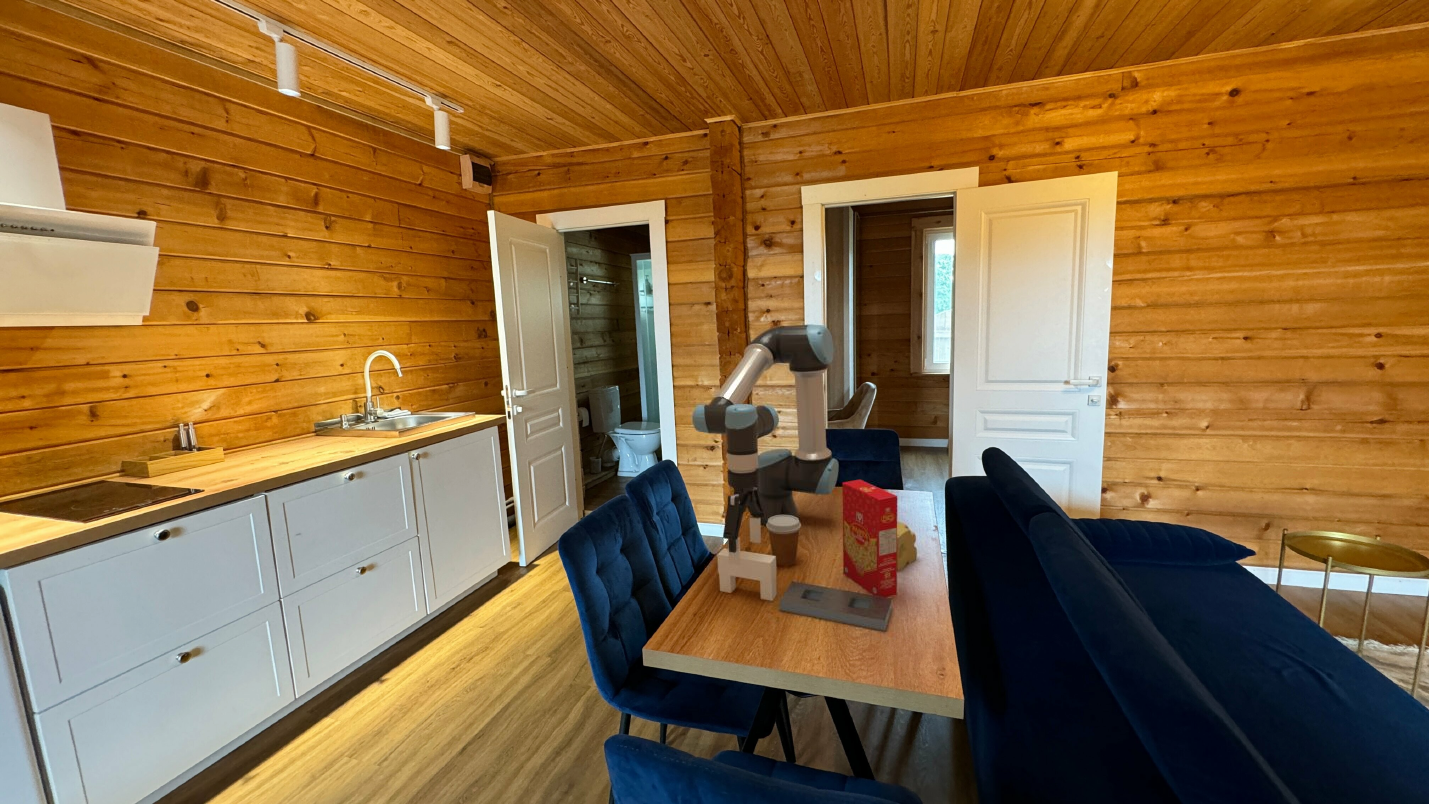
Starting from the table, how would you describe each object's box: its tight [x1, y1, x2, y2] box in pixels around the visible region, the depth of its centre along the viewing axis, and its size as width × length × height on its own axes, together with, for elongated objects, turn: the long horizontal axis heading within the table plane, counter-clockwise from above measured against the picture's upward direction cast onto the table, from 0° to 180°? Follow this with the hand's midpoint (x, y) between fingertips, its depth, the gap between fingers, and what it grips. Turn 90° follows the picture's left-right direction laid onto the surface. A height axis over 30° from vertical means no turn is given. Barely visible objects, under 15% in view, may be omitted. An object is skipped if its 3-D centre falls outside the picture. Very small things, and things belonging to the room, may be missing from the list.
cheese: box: [897, 520, 918, 572], centre depth 152 cm, size 10×11×10 cm
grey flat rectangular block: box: [778, 580, 893, 632], centre depth 129 cm, size 24×10×2 cm, turn 65°
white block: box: [716, 548, 777, 602], centre depth 138 cm, size 14×4×10 cm, turn 65°
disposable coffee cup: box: [765, 515, 802, 567], centre depth 154 cm, size 10×10×12 cm
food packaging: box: [841, 479, 898, 598], centre depth 138 cm, size 15×5×25 cm, turn 21°
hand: (745, 552), depth 137 cm, fingers open, 13 cm apart
